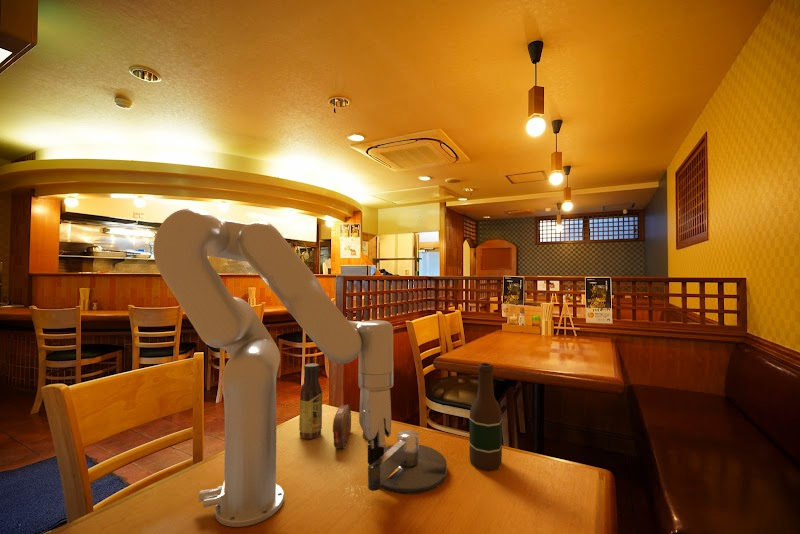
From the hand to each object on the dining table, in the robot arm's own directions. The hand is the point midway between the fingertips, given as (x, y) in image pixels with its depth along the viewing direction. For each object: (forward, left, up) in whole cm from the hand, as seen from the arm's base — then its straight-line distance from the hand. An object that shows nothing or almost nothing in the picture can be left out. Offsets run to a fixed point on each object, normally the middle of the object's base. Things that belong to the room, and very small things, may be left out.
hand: (375, 463), depth 77 cm
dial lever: (+4, -1, -3) cm, 5 cm away
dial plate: (+9, +4, -5) cm, 11 cm away
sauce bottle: (-11, +30, -5) cm, 33 cm away
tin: (-3, +24, -5) cm, 25 cm away
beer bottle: (+28, +1, -5) cm, 28 cm away
